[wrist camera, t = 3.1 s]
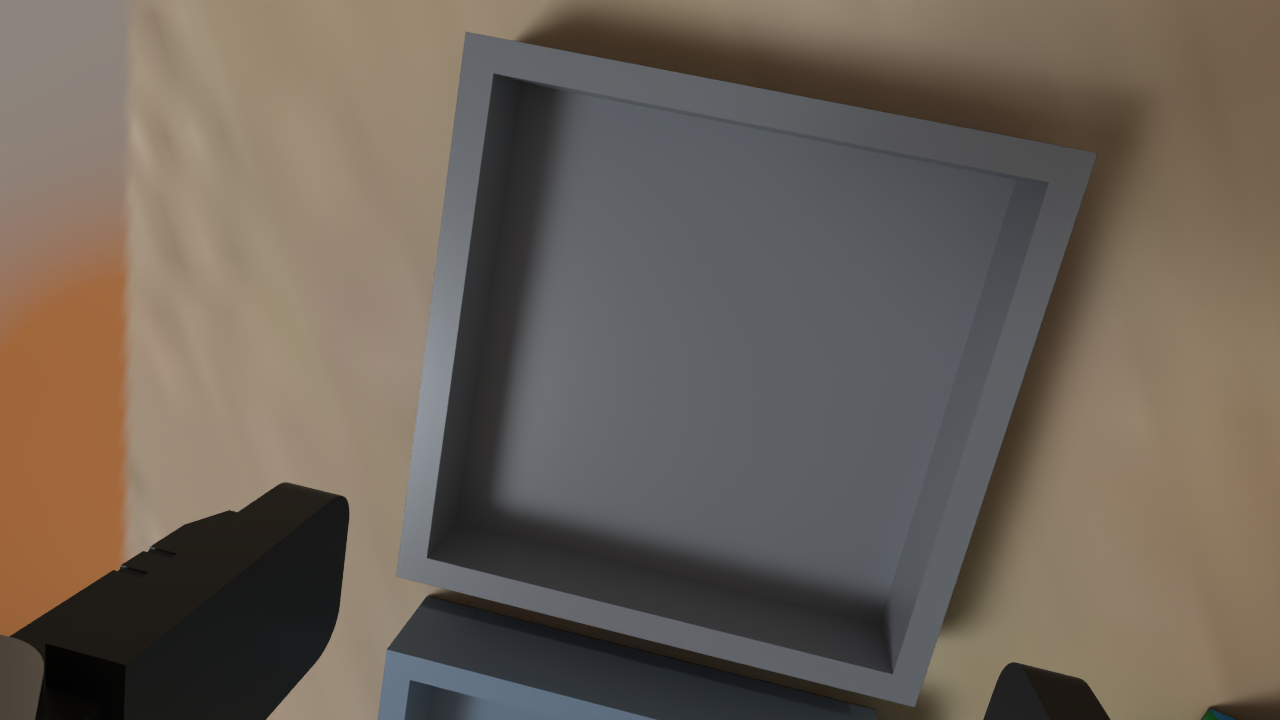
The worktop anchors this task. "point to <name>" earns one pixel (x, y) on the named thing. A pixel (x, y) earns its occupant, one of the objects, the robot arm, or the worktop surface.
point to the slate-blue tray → (565, 677)
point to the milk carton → (1216, 716)
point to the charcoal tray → (723, 359)
